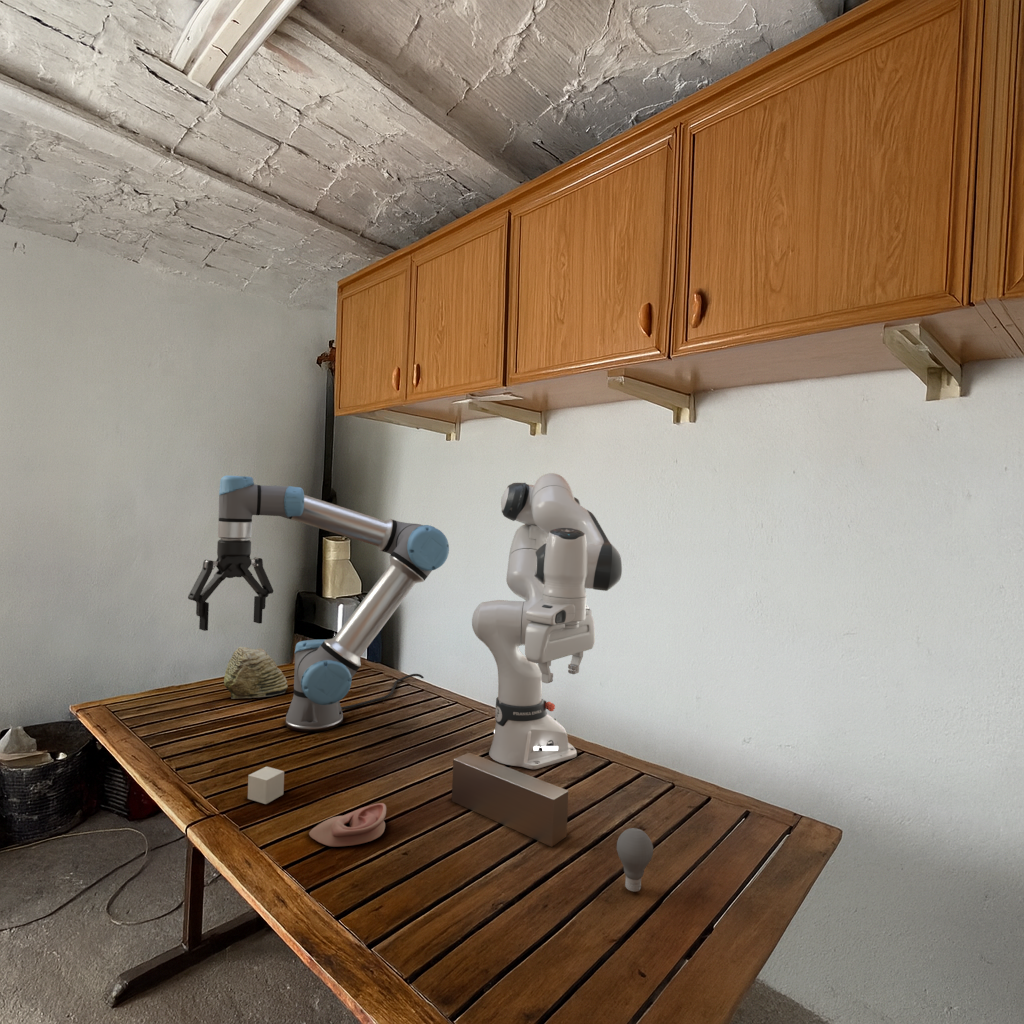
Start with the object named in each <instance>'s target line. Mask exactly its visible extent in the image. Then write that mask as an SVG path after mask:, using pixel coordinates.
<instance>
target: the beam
mask: <svg viewBox="0 0 1024 1024" xmlns="http://www.w3.org/2000/svg"><path fill="white" fill-rule="evenodd" d="M451 781H452V782H451V783H452V784H451V802H453V803H455V804H457V805H460V806H461V807H463V808H465V809H468V810H470V811H472V812H475V813H477V814H479V815H481V816H483V817H486V818H488V819H490V820H492V821H494V822H496V823H498V824H501V825H503V826H505V827H507V828H509V829H511V830H513V831H516V832H518V833H519V834H522V835H525V836H527V837H528V838H531V839H533V840H535V841H538V842H540V843H542V844H544V845H546V846H547V847H551V848H552V847H554V846H555V845H557V844H558V843H559V842H561V841H563V840H564V839H565V838H567V832H568V811H569V790H568V789H565V788H563V787H560V786H558V785H555V784H552V783H549V782H547V781H545V780H543V779H540V778H537V777H534V776H532V775H529V774H526V773H524V772H521V771H518V770H516V769H513V768H511V767H508V766H505V765H504V764H501V763H499V762H496V761H494V760H493V761H492V760H490V759H488V758H485V757H482V756H480V755H476V754H474V753H471V752H466V753H465V754H462V755H460V756H458V757H455V758H453V761H452V780H451Z"/></svg>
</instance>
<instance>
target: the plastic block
mask: <svg viewBox="0 0 1024 1024" xmlns="http://www.w3.org/2000/svg"><path fill="white" fill-rule="evenodd" d="M247 776H248V777H247V779H248V780H247V800H250V801H254V802H257V803H260V804H264V805H268V804H269V803H271V802H273V801H274V800H276V799H278V798H279V797H282V796H283V795H284V793H285V792H284V789H285V788H284V787H285V771H284V770H281V769H278V768H274V767H270V766H265V767H262V768H260V769H258V770H256V771H254V772H252V773H250V774H248V775H247Z"/></svg>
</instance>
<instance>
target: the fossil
mask: <svg viewBox="0 0 1024 1024" xmlns="http://www.w3.org/2000/svg"><path fill="white" fill-rule="evenodd" d="M231 655H232V656H231V658H230V659H229V661H228V663H227V666H226V669H225V673H224V677H223V678H224V679H223V686H224V687H225V688H226V689H227V691H228V692H229V693H230V696H231V697H230V698H231V699H233V700H234V699H235V700H236V699H237V700H238V699H252V698H253V699H255V698H258V699H259V698H266V697H273V696H274V697H275V696H277V695H282V694H285V693H286V691H287V690H288V687H289V685H288V680H287V678H286V676H285V674H284V673H283V671H282V669H280V668H279V667H278V666H277V663H276V661H274V659H273V658H272V657H271V656H270V655H269V654H268V653H267V651H265V649H263V648H255V649H254V648H251V647H247V646H239V647H238V648H237V649H236V650H235V651H233V654H231Z"/></svg>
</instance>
